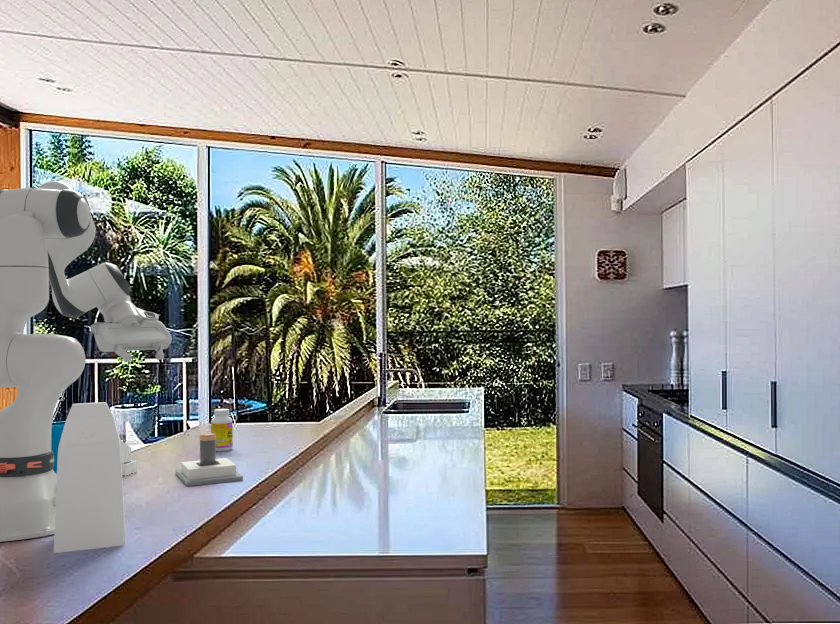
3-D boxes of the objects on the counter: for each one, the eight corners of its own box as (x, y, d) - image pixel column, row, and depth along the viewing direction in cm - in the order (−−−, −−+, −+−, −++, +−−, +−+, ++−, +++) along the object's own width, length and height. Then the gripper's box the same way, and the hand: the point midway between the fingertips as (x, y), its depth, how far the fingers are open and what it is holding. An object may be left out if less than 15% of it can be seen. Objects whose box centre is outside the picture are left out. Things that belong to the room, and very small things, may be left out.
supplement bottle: (229, 451, 242) (229, 410, 242) (208, 451, 242) (208, 411, 242) (235, 448, 249) (234, 408, 249) (214, 448, 249) (214, 408, 249)
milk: (125, 529, 153) (123, 398, 154) (125, 545, 143) (123, 404, 143) (58, 536, 149) (57, 402, 149) (53, 553, 138) (51, 408, 139)
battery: (217, 472, 202) (217, 434, 203) (201, 474, 201) (201, 436, 201) (214, 470, 206) (213, 432, 206) (198, 471, 204) (198, 434, 204)
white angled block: (103, 469, 203) (112, 438, 207) (122, 482, 211) (131, 451, 215) (115, 470, 202) (124, 438, 206) (134, 482, 210) (142, 451, 215)
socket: (242, 480, 198) (242, 466, 199) (186, 486, 192) (186, 472, 192) (227, 468, 215) (227, 455, 215) (175, 473, 209) (175, 460, 209)
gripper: (92, 314, 200) (112, 352, 194) (162, 313, 216) (183, 349, 209) (83, 331, 203) (103, 369, 196) (153, 329, 218) (174, 365, 212)
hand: (145, 359), depth 203 cm, fingers open, 8 cm apart
